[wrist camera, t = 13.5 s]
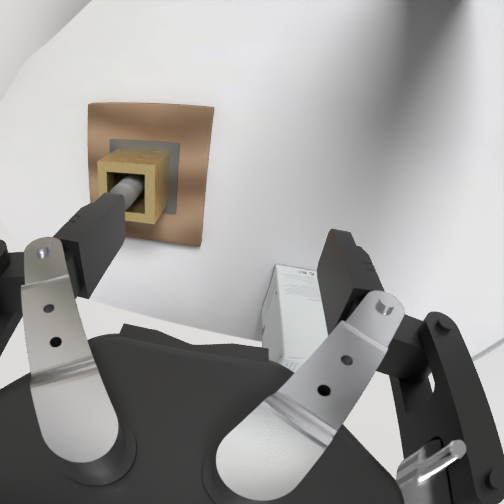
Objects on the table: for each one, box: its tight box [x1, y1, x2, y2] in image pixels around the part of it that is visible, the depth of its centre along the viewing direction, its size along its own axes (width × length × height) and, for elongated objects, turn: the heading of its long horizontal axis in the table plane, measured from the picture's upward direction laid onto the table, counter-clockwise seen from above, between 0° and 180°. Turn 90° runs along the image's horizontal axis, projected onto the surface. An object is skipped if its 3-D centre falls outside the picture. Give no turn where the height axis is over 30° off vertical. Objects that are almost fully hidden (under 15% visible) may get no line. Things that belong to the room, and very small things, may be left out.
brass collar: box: [97, 149, 170, 224], centre depth 31 cm, size 6×6×5 cm
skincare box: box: [261, 264, 328, 373], centre depth 36 cm, size 8×6×15 cm
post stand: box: [88, 103, 214, 246], centre depth 31 cm, size 16×14×8 cm
